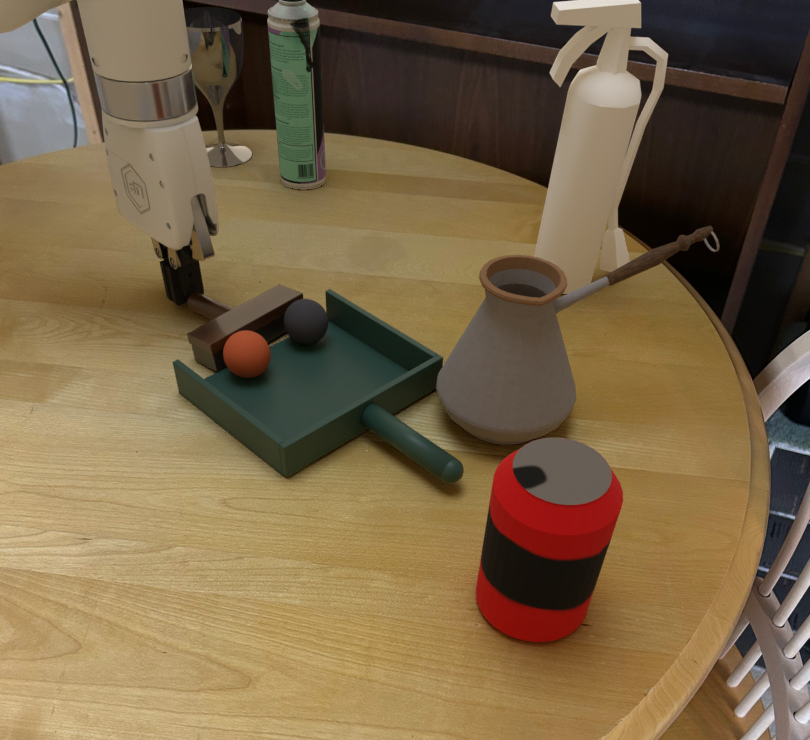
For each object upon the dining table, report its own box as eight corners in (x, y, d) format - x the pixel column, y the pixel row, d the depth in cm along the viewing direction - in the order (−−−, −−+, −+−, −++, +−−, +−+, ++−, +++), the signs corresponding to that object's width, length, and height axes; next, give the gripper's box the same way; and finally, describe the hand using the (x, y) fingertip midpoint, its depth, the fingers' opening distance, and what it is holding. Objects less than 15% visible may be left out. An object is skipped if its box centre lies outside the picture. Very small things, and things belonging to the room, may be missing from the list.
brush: (151, 341, 75) (143, 313, 73) (241, 293, 81) (236, 267, 79) (217, 373, 70) (210, 344, 68) (306, 320, 76) (303, 292, 74)
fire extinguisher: (636, 295, 82) (715, 10, 63) (519, 297, 81) (564, 8, 62) (619, 262, 86) (687, -14, 68) (508, 263, 85) (546, -16, 67)
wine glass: (178, 160, 100) (154, 21, 88) (213, 137, 105) (194, 3, 93) (234, 173, 98) (217, 32, 87) (267, 149, 103) (254, 13, 92)
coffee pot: (459, 471, 63) (479, 300, 52) (416, 384, 70) (426, 219, 59) (698, 428, 68) (763, 263, 57) (635, 351, 75) (681, 191, 64)
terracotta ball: (252, 380, 67) (231, 390, 70) (287, 360, 69) (265, 371, 72) (227, 336, 66) (206, 348, 69) (263, 317, 68) (242, 330, 71)
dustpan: (178, 392, 69) (171, 361, 66) (331, 318, 77) (329, 288, 75) (376, 550, 57) (376, 519, 55) (529, 443, 66) (535, 412, 63)
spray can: (335, 180, 97) (329, -16, 82) (302, 194, 94) (289, -6, 80) (304, 166, 100) (292, -27, 85) (271, 179, 97) (253, -17, 82)
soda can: (458, 572, 56) (475, 440, 47) (555, 547, 58) (589, 417, 49) (502, 658, 51) (530, 530, 42) (606, 629, 53) (654, 500, 44)
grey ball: (320, 335, 70) (297, 359, 73) (344, 318, 73) (321, 342, 76) (289, 299, 69) (267, 325, 72) (314, 283, 72) (292, 309, 75)
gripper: (56, 76, 66) (110, 280, 79) (160, 132, 59) (199, 345, 72) (136, 57, 69) (174, 255, 83) (242, 107, 62) (265, 315, 76)
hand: (186, 297), depth 78 cm, fingers closed
